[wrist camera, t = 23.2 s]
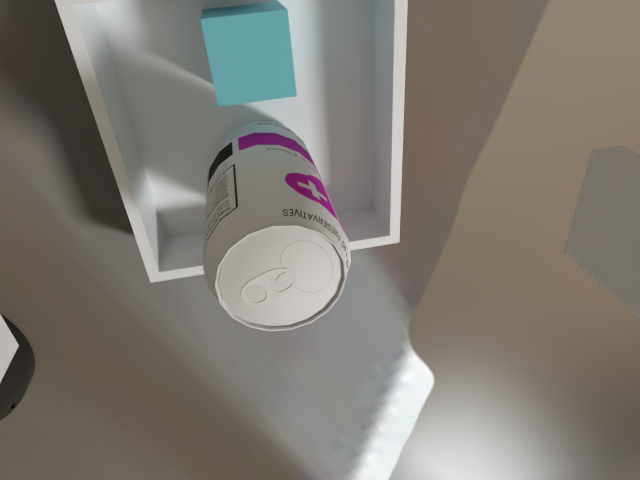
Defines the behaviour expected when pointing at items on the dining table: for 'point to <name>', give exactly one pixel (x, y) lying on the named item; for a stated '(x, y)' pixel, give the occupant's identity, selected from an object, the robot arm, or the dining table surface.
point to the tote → (241, 112)
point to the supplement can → (271, 230)
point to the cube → (249, 52)
